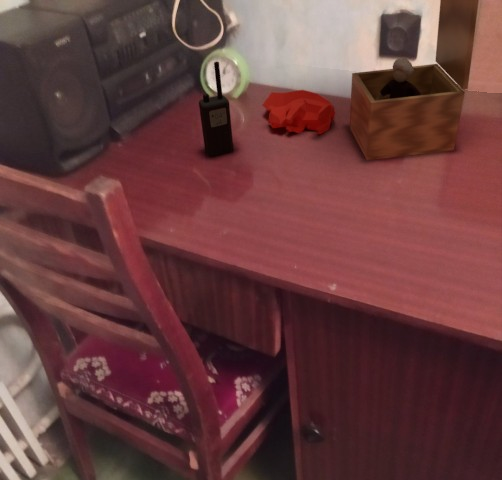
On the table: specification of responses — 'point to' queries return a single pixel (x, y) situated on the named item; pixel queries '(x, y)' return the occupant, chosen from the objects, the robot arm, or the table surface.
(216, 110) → the walkie-talkie
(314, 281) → the table surface
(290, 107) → the crumpled red cloth
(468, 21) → the lid
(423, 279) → the table surface
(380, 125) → the chest
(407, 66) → the grandmother figurine
